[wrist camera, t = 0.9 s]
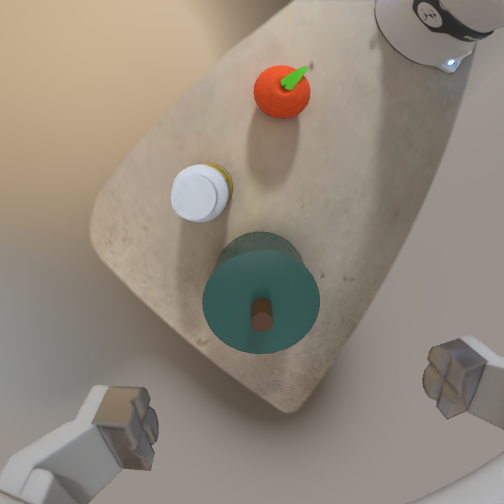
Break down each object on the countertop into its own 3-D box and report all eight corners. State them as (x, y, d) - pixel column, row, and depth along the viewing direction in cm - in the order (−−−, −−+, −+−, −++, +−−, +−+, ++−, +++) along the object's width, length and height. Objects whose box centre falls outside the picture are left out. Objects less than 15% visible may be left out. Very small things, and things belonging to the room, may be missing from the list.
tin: (264, 213, 42) (267, 229, 33) (319, 277, 45) (335, 307, 36) (198, 270, 44) (185, 299, 35) (255, 326, 47) (256, 363, 38)
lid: (267, 222, 33) (269, 233, 29) (339, 304, 36) (349, 324, 32) (180, 297, 36) (171, 316, 32) (255, 365, 39) (256, 388, 35)
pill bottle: (235, 208, 42) (228, 228, 31) (188, 211, 42) (165, 232, 31) (231, 160, 40) (223, 162, 29) (184, 165, 40) (158, 169, 29)
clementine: (283, 59, 35) (288, 41, 28) (321, 92, 37) (334, 81, 30) (242, 97, 37) (240, 86, 30) (281, 131, 38) (286, 127, 32)
